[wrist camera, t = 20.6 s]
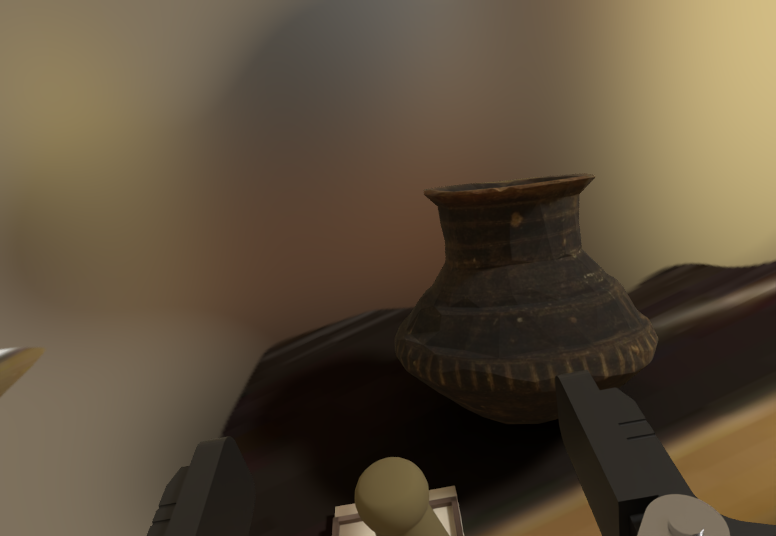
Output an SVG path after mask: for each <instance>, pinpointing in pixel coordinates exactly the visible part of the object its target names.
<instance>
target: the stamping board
mask: <svg viewBox="0 0 776 536" xmlns="http://www.w3.org/2000/svg"><path fill="white" fill-rule="evenodd" d="M429 504H430V506H431V508H432V509H433V511H434V512H435V514H436V515H437V517H438V518H439V520H440V522H441V523H442V525H443V526H444V528H445V529H446V531H447V532H448V534H449V535H450V536H464V533H463V527H462V522H461V516H460V510H459V504H458V499H457V493H456V489H455V486H450V487H444V488H439V489H433V490H429ZM332 536H376V534H375V532H374V531H372V530H371V529H370V528H369V527H368V526H367V525H366V524H365V523H364V522H363V521H362V520H361V518H360V516H359V514H358V512H357V509H356V506H355V503H354V504H349V505H343V506H337V507H335V517H334V518H333V527H332Z"/></svg>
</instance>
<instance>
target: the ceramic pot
mask: <svg viewBox="0 0 776 536" xmlns="http://www.w3.org/2000/svg"><path fill="white" fill-rule="evenodd" d="M594 178H595V176H594V175H591V174H585V173H584V174H572V175H560V176H547V177H535V178H526V179H516V180H508V181H499V182H489V183H476V184H463V185H454V186H445V187H437V188H431V189H426V190H424V195H425V196H426V197H427V198H429V199H430V200H431V201H432V202H433V203H434V204H435V205H437V206H438V210H439V216H440V223H441V227H442V231H443V235H444V239H445V254H446V261H445V264H444V266H443V267H442V269H441V271H440V273H439V275H438V276H437V278H436V280H435V282H434V284H433V285H432V287H430V288H429V289H428V290H426V292H425V293H424V294H423V296H422V297H421V298H420V299H419V301H418V302H417V304H416V306H415V307H414V309H413V311H412V312H411V314H409V315H408V316H407V317H406V319H405V320H404V321H403V322H402V324H401V325H400V327H399V329H398V331H397V334H396V336H395V354H396V356H397V357H398V359H399V361H400V362H401V364H402V365H403V367H404V368H405V370H406V371H407V372H408V373H410V374H411V375H413V376H414V377H416V378H417V379H419V380H420V381H422V382H423V383H425V384H426V385H428V386H429V387H431V388H432V389H434V390H435V391H437V392H438V393H440V394H442V395H443V396H445V397H447V398H449V399H450V400H452V401H454V402H455V403H457V404H459V405H460V406H462V407H464V408H465V409H467V410H469V411H472V412H474V413H476V414H478V415H480V416H482V417H484V418H488V419H491V420H494V421H498V422H501V423H505V424H540V423H544V422H548V421H552V420H556V419H558V408H557V397H556V387H555V376H556V375H562V374H567V373H572V372H577V371H583V370H588V371H589V373H590V374H591V376H592V378H593V379H594V381H595V383H596V385H597V386H598V388H599V390H604V389H610V388H615V387H616V388H619V387H621V386H622V385H624V384H625V383H626V382H627V381H629V380H630V379H631V378H632V377H633V376H635V375H636V374H637V373H638V372H639V371H641V370H642V369H643V368H644V367H646V366H647V365H648V364H649V363H650V362H651V361H652V359H653V356H654V353H655V349H656V346H657V342H658V337H657V335H656V333H655V330H654V328H653V326H652V324H651V322H650V320H649V319H648V318H647V317H645V316H644V315H643V314H641V313H640V312H639V311H637V309H636V308H635V306H634V305H633V303H632V301H631V299H630V298H629V296H628V294H627V293H626V291H625V289H624V287H623V286H622V285H621V284H620V283H619V282H618V281H617V280H616V279H615V278H614V277H612V276H610V275H608V274H607V273H605V271H604V270H603V269H602V268H601V267H600V266H599V265H598V264H597V263H596V262H595V261H594V260H593V259H591V258H590V257H589V256H588V255H587V254H586V253H585V252H584V251H583V250H582V249H581V237H580V228H579V194H580V193H581V192H582V191H583V190H584V188H585V187H586V186H587V185H588V184H589V183H590V182H591V181H592V180H593V179H594Z"/></svg>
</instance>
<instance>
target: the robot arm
mask: <svg viewBox="0 0 776 536" xmlns="http://www.w3.org/2000/svg"><path fill="white" fill-rule="evenodd" d="M555 387H556V397H557V408H558V419H559V426H560V431H561V435H562V439H563V442H564V445H565V448H566V451H567V453H568V455H569V458H570V460H571V462H572V465H573V467H574V470H575V472H576V474H577V477H578V479H579V481H580V484H581V486H582V489H583V491H584V493H585V496H586V498H587V500H588V503H589V505H590V508H591V510H592V512H593V515H594V517H595V519H596V522H597V524H598V527H599V529H600V531H601V534H602V536H776V525H768V524H760V523H752V522H744V521H739V520H735V519H731V518H728V517H726V516H723V515H721V514H719V513H718V512H717V511H716V510H715V509H714V508H713V507H711V506H710V505H709V504H707V503H705V502H703V501H701V500H699V499H698V498H697V497H696V496H695V495H694V494H693V492H692V491H691V490H690V488H689V486H688V485H687V483H686V482H685V480H684V479H683V477H682V475H681V474H680V472H679V471H678V469H677V467H676V466H675V464H674V463H673V461H672V460H671V458H670V456H669V455H668V453H667V452H666V450H665V448H664V447H663V445H662V444H661V442H660V441H659V439H658V437H656V436H655V433H654V431H653V429H652V428H651V426H650V425H649V423H648V422H646V418H645V417H644V415H643V414H642V412H641V410H640V409H639V407H638V406H637V404H636V403H635V401H634V400H633V399H631V398H630V397H628V396H627V395H626V394H624V393H623V392H622V391H620V390H619V389H617V388H616V387H615V388H610V389H604V390H599V388H598V386H597V385H596V383H595V381H594V379H593V378H592V376H591V374H590V373H589V371H588V370H583V371H577V372H572V373H567V374H562V375H556V376H555ZM254 505H255V485H254V481H253V478H252V475H251V473H250V471H249V469H248V467H247V465H246V463H245V461H244V459H243V457H242V455H241V452H240V450H239V448H238V446H237V444H236V442H235V440H234V439H233V438H232V437H224V438H218V439H213V440H208V441H203V442H200V443H199V444H198V446H197V448H196V450H195V453H194V456H193V459H192V461H191V464H190V466H186V467H181V468H180V469H179V471H178V472H177V473H176V475H175V476H174V477H173V478H172V480H171V481H170V482H169V484H168V485H167V486H166V488H165V491H164V493H163V496H162V499H161V501H160V504H159V509H158V510H157V511H156V514H155V516H154V519H153V521H152V523H153V525H152V526H150V529H149V531H148V534H147V536H248V534H249V529H250V524H251V520H252V515H253V510H254Z"/></svg>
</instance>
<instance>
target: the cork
mask: <svg viewBox="0 0 776 536" xmlns="http://www.w3.org/2000/svg"><path fill="white" fill-rule="evenodd" d="M355 506H356V509H357V512H358V514H359V516H360V518H361V520H362V521H363V522H364V523H365V524H366V525H367V526H368V527H369V528H370V529H371V530H372V531H374V532H375V534H376V536H450V535H449V534H448V532H447V531H446V529H445V528H444V526H443V525H442V523H441V522H440V520H439V518H438V517H437V515H436V514H435V512H434V511H433V509H432V508H431V506H430V504H429V488H428V483H427V480H426V478H425V476H424V475H423V473H422V471H421V470H420V469H419V468H418V466H416V465H415V464H414V463H412V462H411V461H409V460H406V459H403V458H400V457H388V458H384V459H381V460H379V461H377V462H375V463H373V464H371V465H370V466H369V467H368V468H367V469H366V470H365V471H364V472H363V473H362V475H361V476H360V478H359V480H358V483H357V486H356V489H355Z"/></svg>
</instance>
